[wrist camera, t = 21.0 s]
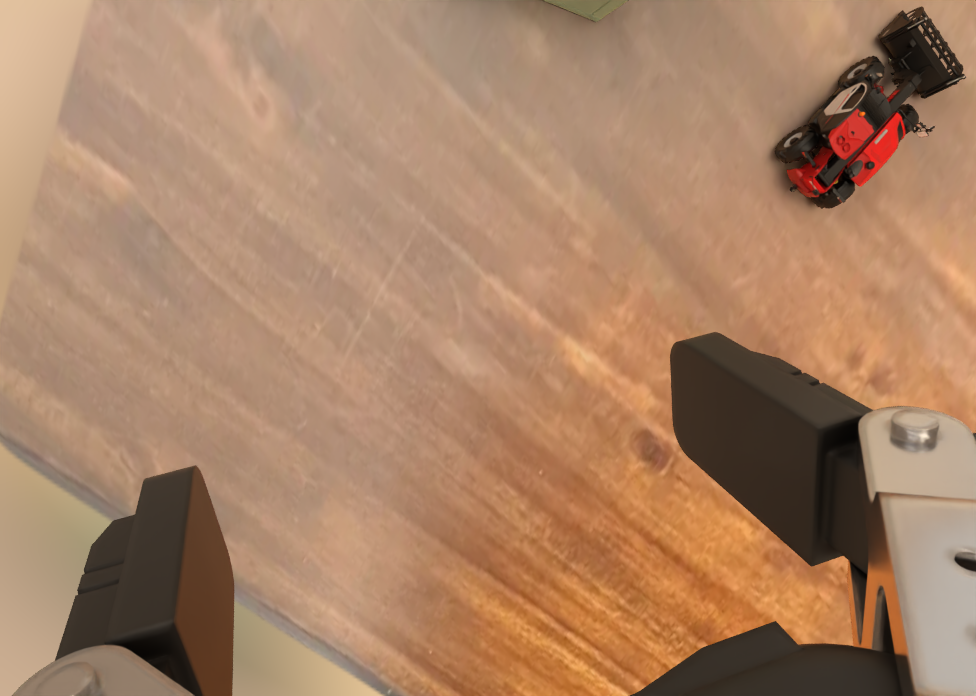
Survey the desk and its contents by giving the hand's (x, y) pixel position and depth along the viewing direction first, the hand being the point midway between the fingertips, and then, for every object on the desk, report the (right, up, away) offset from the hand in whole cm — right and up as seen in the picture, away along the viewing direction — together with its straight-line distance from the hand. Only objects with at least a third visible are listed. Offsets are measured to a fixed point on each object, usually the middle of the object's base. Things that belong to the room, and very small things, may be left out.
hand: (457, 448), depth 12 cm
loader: (+21, +15, +30) cm, 39 cm away
